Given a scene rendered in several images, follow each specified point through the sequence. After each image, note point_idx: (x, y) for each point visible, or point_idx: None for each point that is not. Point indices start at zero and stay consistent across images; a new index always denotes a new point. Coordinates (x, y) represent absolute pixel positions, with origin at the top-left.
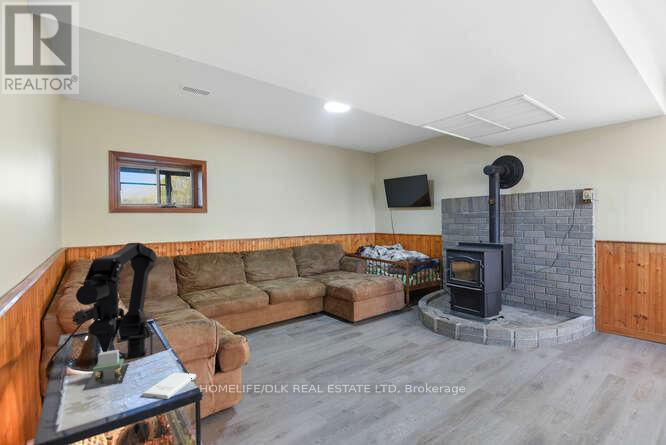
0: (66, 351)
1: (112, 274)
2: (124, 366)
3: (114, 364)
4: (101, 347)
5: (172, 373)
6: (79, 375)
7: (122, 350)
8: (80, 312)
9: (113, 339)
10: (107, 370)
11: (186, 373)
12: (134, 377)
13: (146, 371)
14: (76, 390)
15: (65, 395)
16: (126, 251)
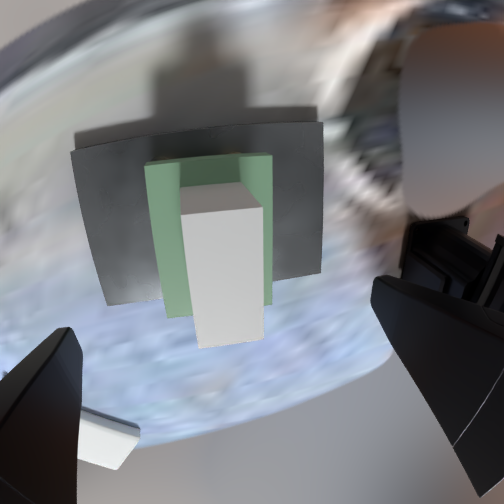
0: None
1: None
2: (293, 262)
3: (177, 286)
4: (26, 361)
5: (129, 438)
6: (306, 44)
7: (495, 187)
8: None
9: (381, 323)
10: (275, 188)
11: (121, 460)
12: (157, 330)
13: (209, 356)
14: (88, 100)
15: (51, 74)
16: None
